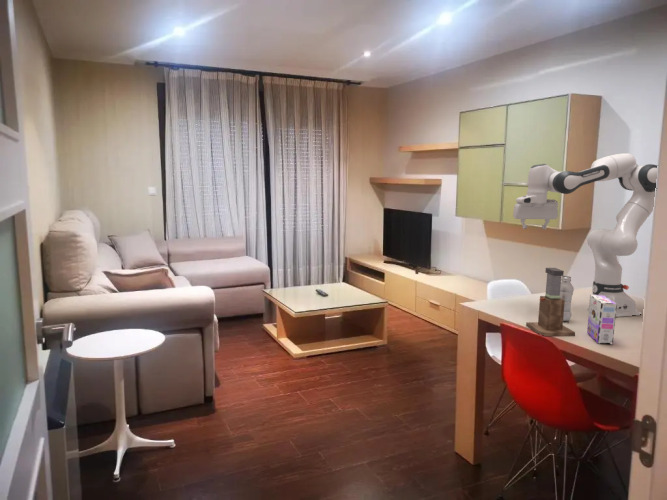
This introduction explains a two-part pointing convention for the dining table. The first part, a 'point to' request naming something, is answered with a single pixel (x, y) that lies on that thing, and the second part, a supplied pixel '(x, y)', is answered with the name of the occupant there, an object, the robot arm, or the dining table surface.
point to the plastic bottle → (566, 296)
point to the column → (553, 283)
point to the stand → (550, 318)
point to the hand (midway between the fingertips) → (534, 228)
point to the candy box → (601, 318)
